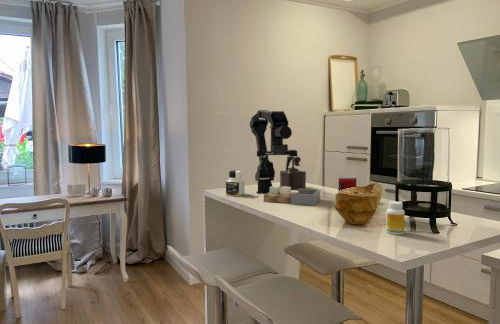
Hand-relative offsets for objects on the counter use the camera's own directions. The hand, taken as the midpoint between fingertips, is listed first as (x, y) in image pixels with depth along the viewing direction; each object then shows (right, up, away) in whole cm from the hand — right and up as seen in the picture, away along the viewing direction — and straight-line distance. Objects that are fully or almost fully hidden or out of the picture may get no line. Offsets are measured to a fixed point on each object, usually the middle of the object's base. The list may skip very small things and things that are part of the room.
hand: (276, 171), depth 183 cm
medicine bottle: (-20, -12, +11) cm, 26 cm away
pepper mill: (+12, -10, +28) cm, 32 cm away
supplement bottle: (+33, -18, -59) cm, 70 cm away
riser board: (+2, -13, -4) cm, 14 cm away
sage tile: (-1, -10, -4) cm, 11 cm away
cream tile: (+4, -10, -5) cm, 12 cm away
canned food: (+32, -13, -6) cm, 35 cm away
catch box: (+13, -13, -8) cm, 20 cm away
